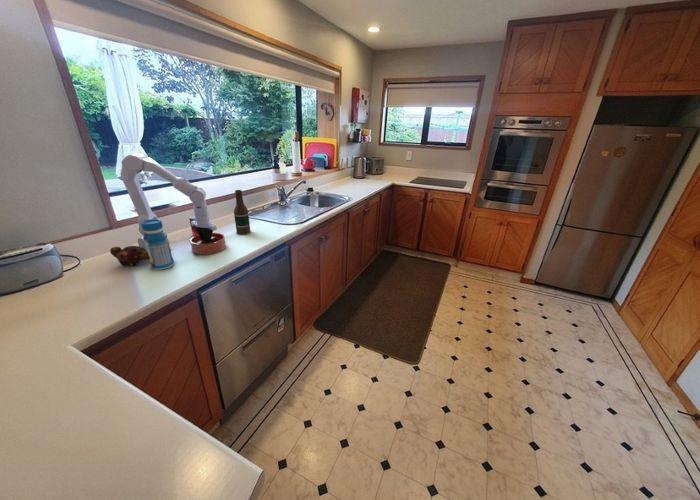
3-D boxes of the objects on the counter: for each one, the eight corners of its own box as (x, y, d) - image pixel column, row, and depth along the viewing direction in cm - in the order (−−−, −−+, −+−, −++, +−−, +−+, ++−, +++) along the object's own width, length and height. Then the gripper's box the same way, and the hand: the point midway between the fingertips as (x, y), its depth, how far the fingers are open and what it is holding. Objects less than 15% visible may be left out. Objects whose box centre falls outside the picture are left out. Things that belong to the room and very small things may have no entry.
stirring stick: (201, 247, 133) (200, 243, 132) (197, 246, 134) (196, 242, 133) (216, 241, 140) (215, 237, 140) (213, 240, 141) (212, 236, 140)
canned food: (204, 238, 149) (201, 218, 145) (190, 237, 149) (185, 218, 145) (211, 233, 156) (208, 214, 152) (197, 232, 156) (193, 213, 152)
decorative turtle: (118, 259, 124) (114, 242, 121) (157, 259, 128) (155, 242, 125) (106, 269, 115) (102, 250, 112) (149, 268, 119) (146, 250, 116)
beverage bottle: (163, 271, 115) (151, 225, 107) (146, 269, 117) (132, 223, 109) (179, 262, 123) (168, 219, 115) (162, 260, 124) (151, 217, 116)
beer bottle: (253, 230, 162) (248, 189, 153) (247, 235, 155) (242, 192, 145) (240, 229, 163) (234, 188, 153) (233, 234, 156) (227, 191, 146)
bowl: (207, 257, 129) (205, 246, 126) (185, 251, 134) (182, 240, 132) (232, 246, 141) (231, 236, 139) (211, 240, 147) (209, 230, 144)
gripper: (219, 215, 132) (224, 241, 137) (198, 210, 137) (203, 236, 143) (207, 219, 126) (212, 246, 131) (185, 214, 131) (190, 240, 137)
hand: (206, 241), depth 137 cm, fingers closed on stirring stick, 2 cm apart
